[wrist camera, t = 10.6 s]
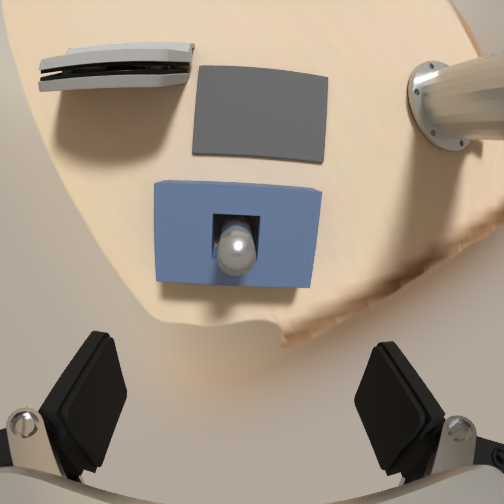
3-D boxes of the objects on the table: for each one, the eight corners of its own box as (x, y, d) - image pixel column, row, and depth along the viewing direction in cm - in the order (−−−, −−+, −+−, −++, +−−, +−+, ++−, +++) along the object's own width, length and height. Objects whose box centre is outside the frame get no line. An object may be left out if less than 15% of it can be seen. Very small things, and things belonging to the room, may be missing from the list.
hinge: (198, 44, 25) (174, 36, 17) (191, 82, 28) (166, 89, 20) (73, 48, 23) (23, 53, 15) (70, 82, 26) (20, 96, 18)
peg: (250, 215, 31) (257, 239, 21) (249, 241, 32) (254, 276, 22) (223, 213, 31) (217, 237, 21) (221, 240, 32) (216, 274, 22)
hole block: (311, 188, 30) (322, 192, 27) (301, 273, 33) (309, 287, 30) (164, 180, 29) (154, 183, 25) (164, 267, 32) (156, 281, 28)
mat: (327, 78, 27) (328, 77, 26) (322, 162, 30) (323, 162, 29) (199, 66, 26) (199, 65, 25) (192, 153, 29) (192, 153, 28)
